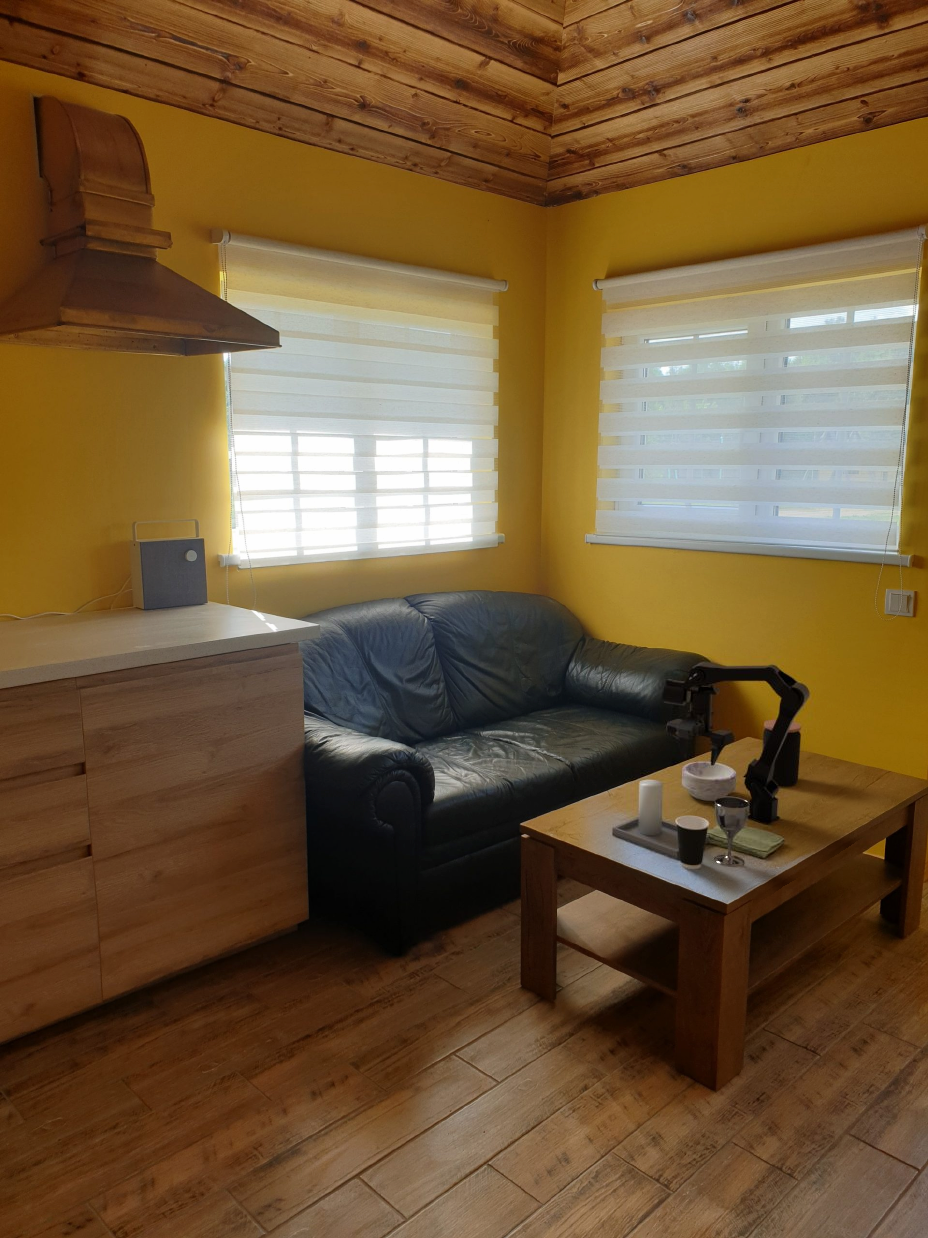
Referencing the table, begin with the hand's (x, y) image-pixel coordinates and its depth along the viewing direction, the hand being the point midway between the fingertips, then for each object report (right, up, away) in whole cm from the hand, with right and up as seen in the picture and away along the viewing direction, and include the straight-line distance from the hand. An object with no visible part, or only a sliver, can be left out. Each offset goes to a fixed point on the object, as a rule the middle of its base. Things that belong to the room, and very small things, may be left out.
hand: (698, 761), depth 259 cm
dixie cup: (-11, -20, -36) cm, 42 cm away
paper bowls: (+5, -12, +10) cm, 16 cm away
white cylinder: (-17, -16, -17) cm, 29 cm away
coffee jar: (+30, -10, +21) cm, 38 cm away
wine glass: (-1, -19, -33) cm, 38 cm away
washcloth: (+6, -18, -23) cm, 30 cm away
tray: (-15, -17, -21) cm, 31 cm away
